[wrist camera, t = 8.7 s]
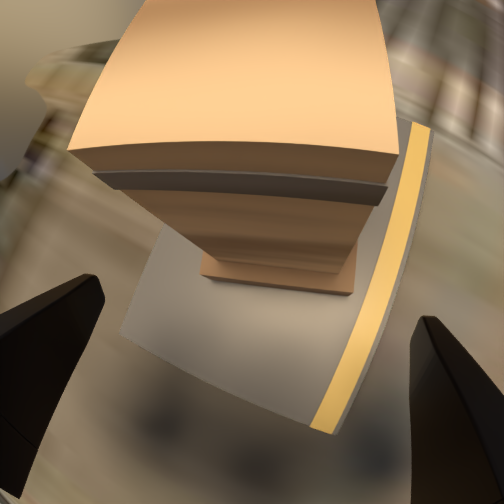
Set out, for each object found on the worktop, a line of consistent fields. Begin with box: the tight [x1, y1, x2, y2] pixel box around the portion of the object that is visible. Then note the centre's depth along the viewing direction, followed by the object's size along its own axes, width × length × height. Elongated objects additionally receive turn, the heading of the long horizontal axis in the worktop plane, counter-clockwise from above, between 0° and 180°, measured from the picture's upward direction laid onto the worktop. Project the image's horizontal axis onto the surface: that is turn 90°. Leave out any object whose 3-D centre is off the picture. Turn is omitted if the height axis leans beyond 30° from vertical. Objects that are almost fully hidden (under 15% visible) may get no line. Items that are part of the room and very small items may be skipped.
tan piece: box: [67, 0, 399, 296], centre depth 11 cm, size 6×7×12 cm
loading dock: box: [119, 117, 434, 436], centre depth 18 cm, size 18×13×3 cm
